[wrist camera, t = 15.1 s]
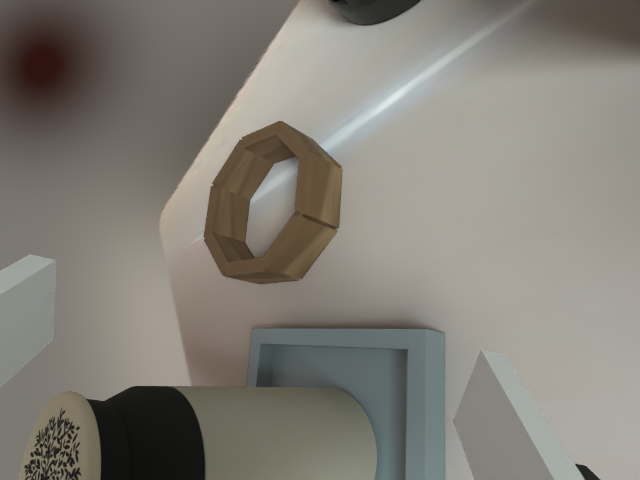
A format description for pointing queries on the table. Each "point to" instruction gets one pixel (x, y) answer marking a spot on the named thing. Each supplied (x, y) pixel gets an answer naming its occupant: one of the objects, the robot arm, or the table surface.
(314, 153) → the mug holder
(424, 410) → the tray
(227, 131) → the table surface
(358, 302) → the table surface
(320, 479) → the travel mug
